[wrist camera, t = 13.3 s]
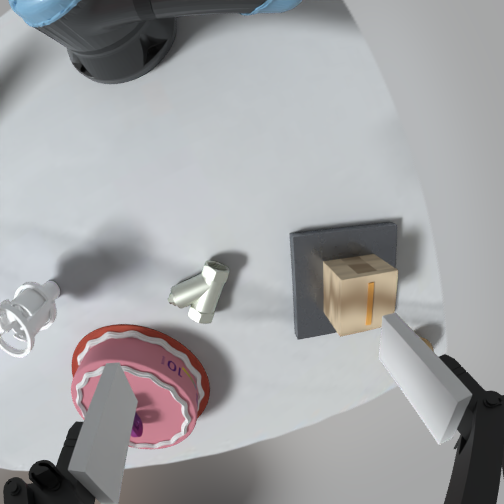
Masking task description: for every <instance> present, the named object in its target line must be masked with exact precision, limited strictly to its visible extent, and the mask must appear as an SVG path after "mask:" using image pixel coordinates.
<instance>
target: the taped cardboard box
mask: <svg viewBox="0 0 504 504" xmlns="http://www.w3.org/2000/svg"><path fill="white" fill-rule="evenodd" d="M397 279H398V270H397V269H396V268H394V267H393V266H391V265H390V264H388V263H387V262H385V261H384V260H382V259H381V258H379V257H378V256H376V255H375V254H370V255H363V256H357V257H350V258H343V259H336V260H329V261H323V283H324V313H325V315H326V316H327V318H328V319H329V321H330V322H331V324H332V325H333V327H334V328H335V330H336V331H337V333H338V334H339V336H340V337H341V336H345V335H350V334H355V333H359V332H364V331H368V330H372V329H376V328H381V327H382V316H384V315H388V314H392V313H394V311H395V302H396V291H397Z"/></svg>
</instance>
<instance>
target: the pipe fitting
mask: <svg viewBox="0 0 504 504" xmlns="http://www.w3.org/2000/svg"><path fill="white" fill-rule="evenodd" d="M229 271H230V269H229V268H228V267H227V266H225V265H223V264H221V263H218V262H215V261H206V262H205V265H204V268H203V271H202V274H199V275H197V276H195V277H193V278H191V279H188V280H186V281H184V282H182V283H180V284H177V285H175V286H173V287H172V288H171V293H170V295H169V298H168V302H169V303H170V304H173V305H174V306H176V305H177V306H178V307H179V308H180V309H182V308H184V307H187V306H189V305H191V307H190V310H189V313H188V316H189V317H190V318H191V319H193V320H194V321H196V322H199V323H203V324H208V323H211V322H212V319H213V316H214V312H215V308H216V305H217V302H218V300H219V297H220V294H221V291H222V289H223V286H224V283H226V281H227V278H228V275H229Z"/></svg>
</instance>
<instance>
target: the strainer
mask: <svg viewBox="0 0 504 504" xmlns="http://www.w3.org/2000/svg"><path fill="white" fill-rule="evenodd" d="M25 288H26V289H25ZM23 289H25V290H24V291H23V292H22V290H23ZM21 292H22V293H21ZM59 295H60V288H59V286H58V285H57V284H56V283H55V282H54V281H47V282H46V283H45V284H44V285H40V284H38V283H36V282H26V283H24V284H23V285H22V286H20V287H19V288H18V289H17V291H16V293H15V296H14V299H13V300H12V301H11V302H10V301H9V299H7V300H4V301H3V302H1V303H0V316H1V318H0V348H1V349H2V350H4V351H5V352H6V353H8V354H9V355H11V356H14V357H18V358H22V357H25V356H27V355H28V353H29V352H30V351H31V350H32V348H33V346H34V341H35V339H34V336H35V335H36V334H37V333H38V332H39V330H45V329H47V328H49V327H50V326H51V324H52V323H53V322H54V321H55V318H56V314H57V309H56V304H55V300H56V299H57V298H58V297H59ZM11 305H12V306H11ZM4 312H5V313H4ZM3 313H4V314H3ZM49 319H50V321H49V322H48V323H46V322H47V321H48V320H49ZM11 329H12V330H13V331H14V332H15V334H14V337H15V338H16V339H18V340H20V341H23V342H28V346H27V349H25V350H18V349H15V348H13V347H11V346H10V345H8V344H7V343H6V342H5V341H4V340H3V338H2V337H1V335H2V334H3V333H4V332H5V331H6V333H8V332H9V331H10V330H11Z"/></svg>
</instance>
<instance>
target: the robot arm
mask: <svg viewBox="0 0 504 504" xmlns="http://www.w3.org/2000/svg"><path fill="white" fill-rule="evenodd" d="M301 2H302V0H9V4H10V6H11V8H12V9H13V11H14V12H15V13H17V14H18V15H19V16H20V17H22V18H23V20H24V21H25V22H26V23H27V24H28V25H29V26H31V27H34V28H36V29H37V30H39V31H41V32H42V33H44V34H46V35H47V36H49V37H51V38H52V39H54V40H56V41H57V42H59V43H60V44H62V45H64V46H65V47H67V51H68V54H69V57H70V60H71V62H72V64H73V65H74V67H75V68H76V69H77V70H78V71H79V72H80V73H81V74H83V75H84V76H86V77H88V78H89V79H91V80H93V81H96V82H99V83H104V84H118V83H124V82H128V81H131V80H133V79H136V78H138V77H140V76H142V75H144V74H145V73H147V72H149V71H150V70H151V69H153V68H154V67H155V66H156V65H157V64H158V63H159V62H160V61H161V60H162V59H163V58H164V57H165V55H166V54H167V53H168V51H169V49H170V48H171V46H172V43H173V41H174V38H175V34H176V18H175V17H181V16H191V15H204V14H224V13H240V14H241V15H252V14H256V13H282V12H285V11H288V10H290V9H293V8H295V7H296V6H297V5H298V4H300V3H301ZM379 360H380V361H381V362H382V364H383V365H384V367H385V368H386V369H387V371H388V372H389V374H390V375H391V376H392V378H393V379H394V381H395V382H396V383H397V385H398V386H399V388H400V389H401V390H402V392H403V393H404V395H405V396H406V398H407V399H408V400H409V402H410V403H411V405H412V406H413V408H414V409H415V410H416V412H417V413H418V415H419V416H420V418H421V419H422V421H423V422H424V424H425V425H426V427H427V428H428V429H429V431H430V432H431V434H432V435H433V437H434V438H435V440H436V441H437V443H438V444H439V445H440V444H442V443H443V442H446V441H448V440H450V439H451V438H453V436H454V435H455V433H456V430H458V431H459V432H460V434H461V435H460V437H459V439H458V441H457V443H456V445H455V447H454V449H456V448H457V452H456V457H455V462H454V467H453V471H452V475H451V479H450V483H449V487H448V491H447V494H446V498H445V502H444V504H496V502H497V496H498V490H499V484H500V476H501V468H502V469H503V477H504V395H502V396H501V395H500V394H499V393H497V392H494V391H485V390H484V389H483V388H482V387H481V386H480V385H479V384H478V383H477V382H476V381H475V380H474V379H473V378H472V377H471V375H470V374H469V373H468V372H466V370H465V369H464V368H463V367H461V365H460V364H459V363H458V362H457V361H456V360H455V359H454V358H452V357H450V356H448V355H446V354H444V355H442V356H440V357H438V356H437V355H436V354H435V353H434V352H433V351H432V350H431V349H430V348H429V347H428V346H427V345H426V343H425V342H424V341H423V340H422V339H421V338H420V337H419V336H418V335H417V334H416V333H415V332H414V331H413V330H412V329H411V328H410V327H409V326H408V325H407V324H406V323H405V322H404V321H403V320H402V319H401V318H400V317H399V316H398V315H397V314H396V313H392V314H388V315H384V316H382V328H381V339H380V349H379ZM137 403H138V401H137V399H136V397H135V395H134V393H133V390H132V388H131V386H130V384H129V382H128V380H127V378H126V376H125V373H124V371H123V369H122V367H121V365H120V362H118V363H106V365H105V367H104V370H103V372H102V375H101V377H100V380H99V382H98V385H97V387H96V390H95V392H94V395H93V398H92V400H91V403H90V406H89V408H88V411H87V414H86V416H85V419H84V422H75V423H74V424H73V426H72V427H71V428H70V429H69V431H68V434H67V437H66V440H65V442H64V447H63V448H62V451H61V453H60V456H59V459H58V462H57V465H56V467H55V465H54V464H53V463H52V462H50V461H48V460H41V461H38V462H36V463H35V464H33V465H32V467H31V468H30V471H29V479H30V480H31V481H32V482H33V483H31V484H26V483H25V482H24V481H23V480H22V479H20V478H18V477H14V478H11V479H9V480H8V481H7V482H6V484H5V486H4V491H3V493H4V504H94V502H95V498H96V499H97V500H98V501H99V502H100V503H101V504H118V503H119V496H120V490H121V484H122V478H123V472H124V467H125V461H126V456H127V451H128V446H129V441H130V436H131V431H132V426H133V421H134V417H135V412H136V407H137ZM457 446H458V447H457Z"/></svg>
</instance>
